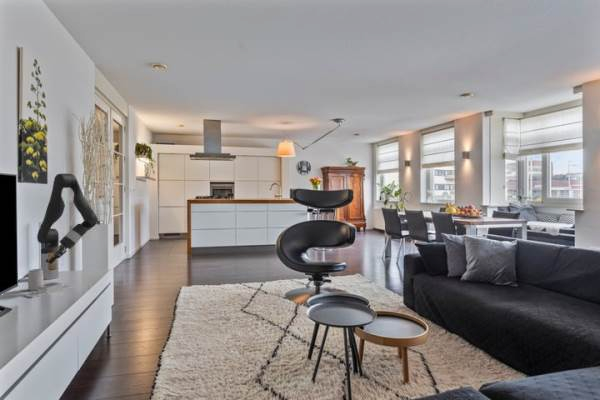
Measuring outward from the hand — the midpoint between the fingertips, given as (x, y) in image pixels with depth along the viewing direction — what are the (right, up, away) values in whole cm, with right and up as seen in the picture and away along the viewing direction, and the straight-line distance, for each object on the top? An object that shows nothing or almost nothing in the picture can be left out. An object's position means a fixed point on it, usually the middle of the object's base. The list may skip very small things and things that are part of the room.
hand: (48, 262), depth 208 cm
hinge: (+1, -17, +1) cm, 17 cm away
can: (-11, -17, +5) cm, 21 cm away
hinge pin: (+1, -4, +2) cm, 5 cm away
